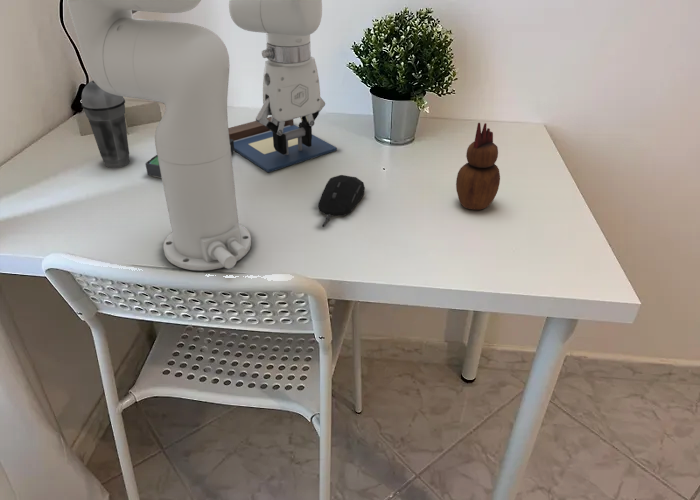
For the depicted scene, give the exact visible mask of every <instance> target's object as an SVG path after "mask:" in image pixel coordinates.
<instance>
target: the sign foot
mask: <svg viewBox="0 0 700 500" xmlns="http://www.w3.org/2000/svg"><path fill="white" fill-rule="evenodd" d="M271 118H272V116H268V117H267V119H268V120H269V121H271ZM294 123H295V122H294V119H292V120H288V121H285V125H284V127H285V126H289V125H290V126H293V125H295V124H294ZM277 124H278V123H277ZM228 130H229V139H233V141H235V140H239V139H242V138H246V137H249V136H253V135H256V134H260V133H264V132H267V131H270V130H269V129H268V128H267V127H266V126H264V125H263V124H261V123H259V122H258V121H256V120H254V121H250V122H246V123H243V124H239V125H234V126H231V127H228Z"/></svg>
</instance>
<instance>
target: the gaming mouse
mask: <svg viewBox="0 0 700 500" xmlns="http://www.w3.org/2000/svg"><path fill="white" fill-rule="evenodd" d="M365 190H366V187H365V183H364V182H363V181H362V180H361V179H359V178H358V177H357V176H351V175H345V174H339V175H336V176H332V177H331V178H329V179H328V181H327V182H326V184H325V186H324V189H323V190H322V193H321V196H320V199H319V201H318V205H317V207H318V211H319V212H320V213H322V214H324V215H326V217H325V218H324V221H323V223H322V224H321V226H322V227H323V228H325V227H326V225H327V223H328V222H329V221H330V219H331V217H344V216H346V215H348V214H351V212H352V211H353V210H354V209H355V207H356V206H357V205H358V204H359V202H361V200H362V198H363V197H364V195H365V192H366V191H365Z"/></svg>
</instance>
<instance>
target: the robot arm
mask: <svg viewBox="0 0 700 500" xmlns="http://www.w3.org/2000/svg"><path fill="white" fill-rule="evenodd" d="M201 1H202V0H66V4H67V5H66V6H67V8H68V11H69V15H70V18H71V21H72V25H73V28H74V29H73V30H74V32H75V35H76V39H77V42H78V47H79V49H80V53H81V55H82V56H81V57H82V59H83V62H84V65H85V68H86V70H87V72H88V74H89V76H90V78H91V79H92V81H94V82H95V83H96V84H97V85H98V86H99V87H100V88H101V89H102V90H104V91H106V92H108V93H110V94H113V95H118V96H123V98H131V99H137V100H145V101H152V102H156V103H161V104H163V105H164V107H165V110H164V113H163V116H162V117H161V119H160V121H159V122H158V124H157V126H156V129H155V132H154V144H155V145H154V146H155V150H156V155H158V161H159V166H160V171H161V177H162V178H161V182H162V186H163V187H162V188H163V192H164V197H165V203H166V209H167V214H168V219H169V224H170V229H171V232H170V233H169V234H168V235H167V236H166V237H165V239H164V241H163V245H162V246H163V252H164V256H165V258H166V259H167V261H168V262H169V263H171V264H172V265H174V266H176V267H178V268H181V269H184V270H190V271H202V272H203V271H212V270H218V269H222V268H225V269H226V270H227V269H228V270H229V269H232V268H234V267H235V266H236V264H237V262H238V261H240V260H242V259H243V258H244V257H245V256H246V255H247V254H248V252H249V251H250V249H251V246H252V236H251V232H250V231H249V229H248V228H247V227H246V226H244V225H242V224H241V223H240V221H239V213H238V203H237V196H236V186H235V176H234V169H233V167H234V166H233V160H232V153H231V148H230V140H229V130H228V128H229V120H228V94H229V83H230V82H229V81H230V79H229V78H230V56H229V51H228V48H227V46H226V44H225V42H224V41H223V39H222V38H221V37H220V35H218V34H216V33H215V32H214V31H212V30H210V29H209V28H207V27H204V26H202V25H197V24H195V23H189V22H180V21H169V20H157V19H145V18H134V16H133V11H135V12H137V11H138V12H147V13H149V12H150V13H160V14H181V13H187V12H189V11H192V10H194V9H195V8H196V7H198V6H199V4H200V2H201ZM228 12H229V16H230V19H231V20H232V21H233V23H234V25H236V26H237V27H238V28H240V29H242V30H244V31H246V32H247V31H248V32H253V33H262V34H265V37H266V43H265V45H266V48H265V49H262V50H261V56H262V58H263V59H267V60H266V61H264V67H263V77H262V106H261V107H260V109H259V112H258V113H257V115H256V117H255V121H258V122H259V123H261V124H263V125H264V126H266V127H267V128H268V129H269V130H270V131H272V132H273V145H274V148H275V150H276V151H278V152H279V153H281V154H283V155H284V154H286V153H287V148H286V135H285V134H283V130H284V125H285V121H288V120H292V119H293V120H294V119H299V118H300V121H299V122H298V123H299V124H298V127H299V128H304V129H305V131H306V135H305V136H302V144H304V145H306V146H308V147H310V146H312V142H311V140H312V135H313V127H314V125H315V124H316V123H315V121H316V119H317V118H318V117H319V115H320V113H321V111H322V110H323V108H324V107H325V106H326V101H324V99H323V98H322V97H321V88H320V78H319V72H318V67H317V63H316V59H315V57H313V56H311V52H312V51H311V35H312V34H314V33H315V32H316V31H317V30H318V28H319V27H320V25H321V22H322V16H323V1H322V0H228ZM269 116H271V117H272V118H271V121H269V120H268V119H267V118H268V117H269ZM277 123H278V124H277Z"/></svg>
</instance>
